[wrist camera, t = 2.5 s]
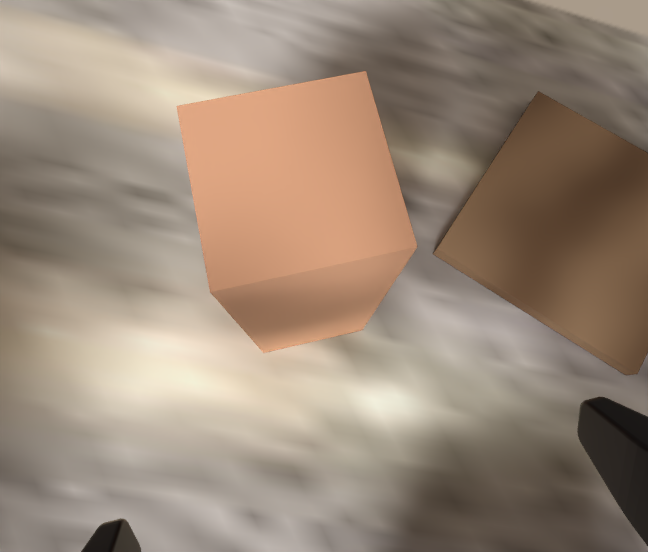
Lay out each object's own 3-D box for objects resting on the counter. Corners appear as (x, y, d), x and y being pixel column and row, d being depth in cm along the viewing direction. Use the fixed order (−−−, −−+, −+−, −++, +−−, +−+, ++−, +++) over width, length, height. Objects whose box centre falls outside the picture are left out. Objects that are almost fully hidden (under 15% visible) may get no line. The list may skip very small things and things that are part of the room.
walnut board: (711, 202, 24) (724, 196, 24) (625, 375, 22) (637, 374, 21) (531, 100, 26) (538, 91, 25) (432, 254, 23) (437, 248, 22)
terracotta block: (362, 330, 22) (417, 247, 11) (263, 352, 22) (209, 292, 10) (338, 237, 23) (365, 70, 12) (244, 257, 23) (176, 106, 11)
